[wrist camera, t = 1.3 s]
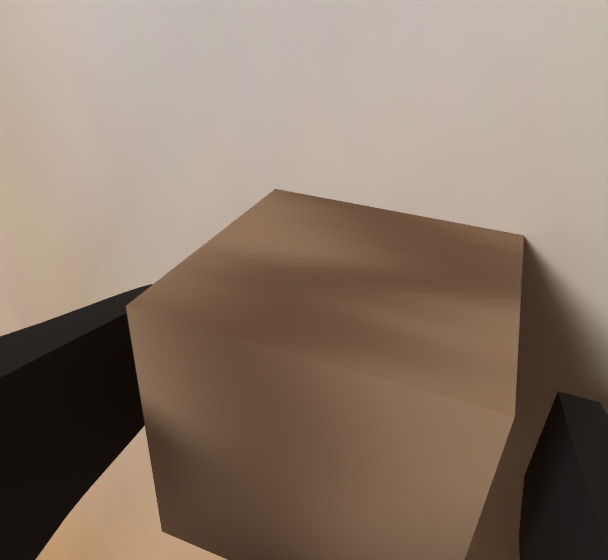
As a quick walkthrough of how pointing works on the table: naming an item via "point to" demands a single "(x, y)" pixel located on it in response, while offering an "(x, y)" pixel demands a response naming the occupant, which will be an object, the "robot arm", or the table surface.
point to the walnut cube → (330, 382)
